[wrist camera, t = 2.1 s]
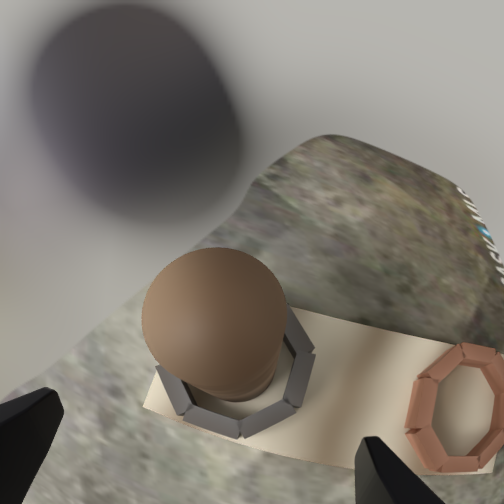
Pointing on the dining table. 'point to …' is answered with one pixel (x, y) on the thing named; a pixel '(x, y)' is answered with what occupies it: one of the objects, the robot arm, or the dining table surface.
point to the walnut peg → (217, 322)
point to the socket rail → (359, 399)
